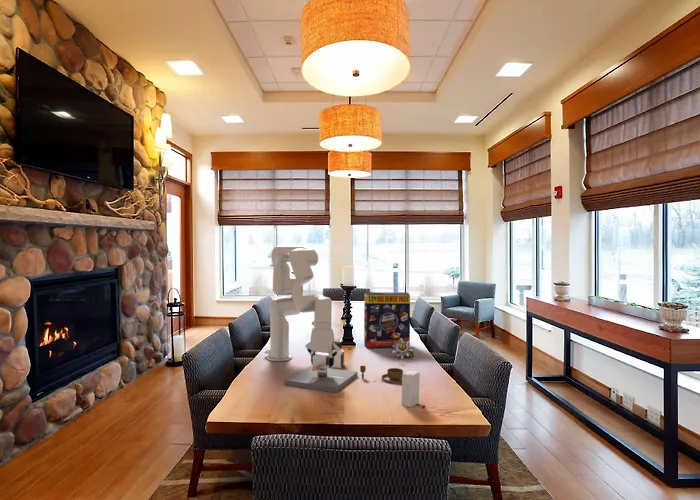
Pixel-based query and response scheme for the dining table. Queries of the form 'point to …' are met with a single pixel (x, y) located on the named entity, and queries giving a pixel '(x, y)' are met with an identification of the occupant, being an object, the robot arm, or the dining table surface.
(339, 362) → the medicine bottle
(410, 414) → the dining table surface
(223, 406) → the dining table surface
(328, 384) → the base board
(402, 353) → the passion flower
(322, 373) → the steel post
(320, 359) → the mallet
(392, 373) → the tea set
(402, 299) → the cereal box
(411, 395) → the skincare box
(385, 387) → the dining table surface
